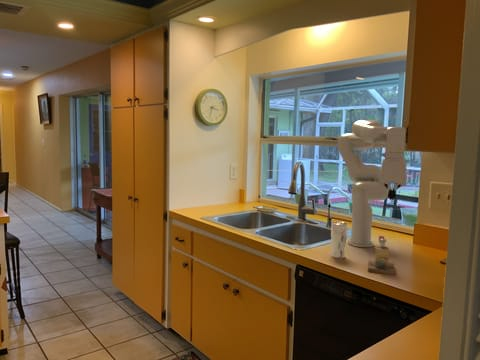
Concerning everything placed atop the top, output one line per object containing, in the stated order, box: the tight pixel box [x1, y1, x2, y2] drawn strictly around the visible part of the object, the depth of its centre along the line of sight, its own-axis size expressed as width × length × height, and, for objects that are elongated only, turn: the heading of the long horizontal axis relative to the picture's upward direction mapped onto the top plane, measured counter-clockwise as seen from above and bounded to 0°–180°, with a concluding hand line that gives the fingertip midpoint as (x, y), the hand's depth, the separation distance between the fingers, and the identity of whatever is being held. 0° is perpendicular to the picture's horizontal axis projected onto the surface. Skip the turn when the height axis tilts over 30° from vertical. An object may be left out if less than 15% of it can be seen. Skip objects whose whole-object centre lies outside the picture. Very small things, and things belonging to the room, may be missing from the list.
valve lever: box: [378, 235, 387, 248], centre depth 160 cm, size 10×3×3 cm, turn 164°
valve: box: [367, 245, 396, 276], centre depth 157 cm, size 10×10×9 cm
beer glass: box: [330, 221, 348, 259], centre depth 174 cm, size 7×7×15 cm
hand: (391, 199), depth 166 cm, fingers closed
